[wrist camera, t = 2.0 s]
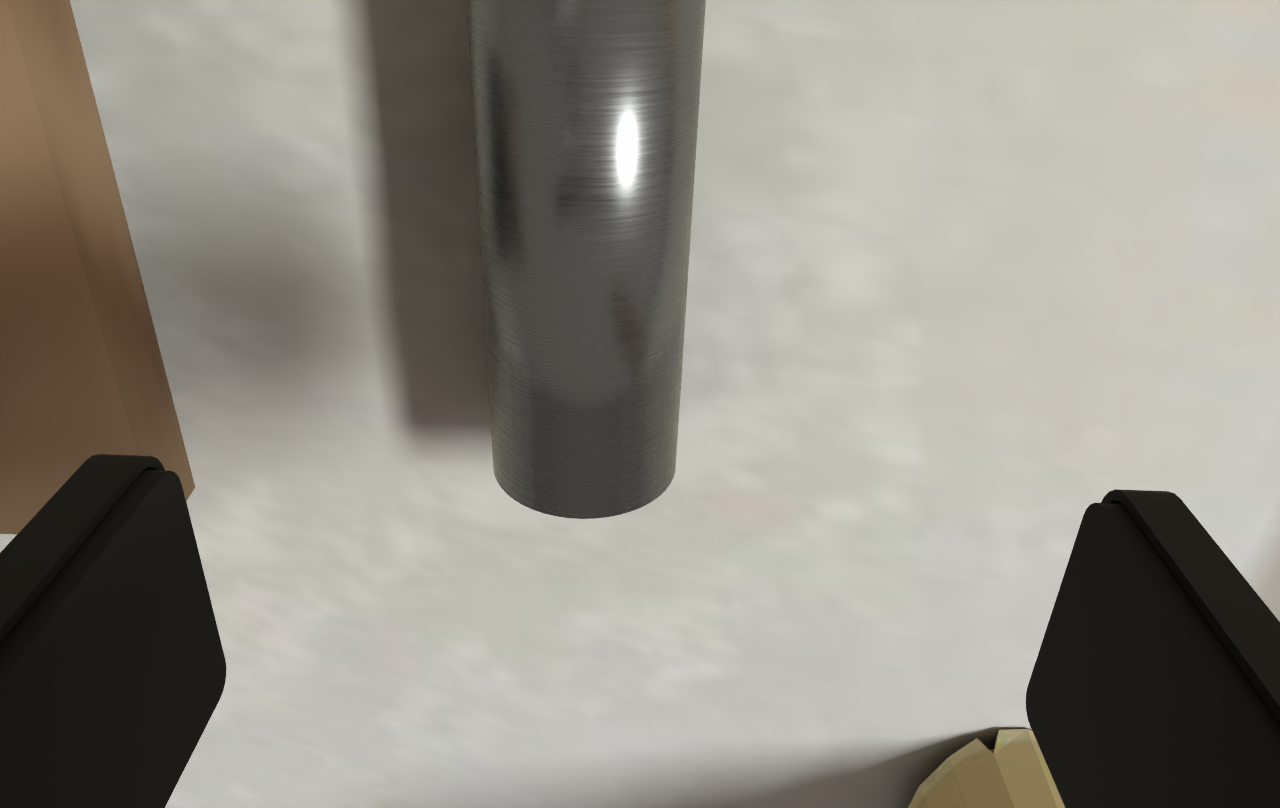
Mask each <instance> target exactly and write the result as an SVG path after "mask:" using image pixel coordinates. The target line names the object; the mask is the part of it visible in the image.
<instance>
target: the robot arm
mask: <svg viewBox="0 0 1280 808" xmlns="http://www.w3.org/2000/svg"><path fill="white" fill-rule="evenodd" d="M225 678H226V662H225V657H224V653H223V649H222V645H221V641H220V637H219V633H218V629H217V625H216V621H215V617H214V613H213V609H212V605H211V600H210V596H209V592H208V588H207V584H206V580H205V576H204V572H203V568H202V564H201V560H200V556H199V552H198V548H197V544H196V540H195V536H194V532H193V528H192V524H191V520H190V516H189V512H188V508H187V503H186V499H185V495H184V491H183V487H182V484H181V481H180V478H179V476H178V475H177V474H176V473H175V472H173V471H165V469H164V467H163V465H162V463H161V462H160V461H159V459H158V458H155V457H153V456H138V455H109V454H98V455H93V456H91V457H90V458H88V459H87V460H86V461H85V462H84V463H83V464H82V465H81V466H80V467H79V468H78V469H77V470H76V471H75V473H74V474H73V475H72V476H71V477H70V478H69V479H68V480H67V481H66V482H65V483H64V484H63V486H62V487H61V488H60V489H59V490H58V491H57V492H56V493H55V494H54V495H53V496H52V497H51V499H50V500H49V501H48V502H47V503H46V504H45V505H44V506H43V507H42V508H41V509H40V510H39V512H38V513H37V514H36V515H35V516H34V517H33V518H32V519H31V520H30V521H29V522H28V523H27V525H26V526H25V527H24V528H23V529H22V530H21V531H20V532H19V533H18V534H17V535H16V536H15V538H14V539H13V540H12V541H11V542H10V543H9V544H8V545H7V546H6V547H5V548H4V549H3V551H2V552H1V553H0V808H165V806H166V804H167V802H168V800H169V798H170V796H171V794H172V792H173V790H174V788H175V786H176V784H177V782H178V780H179V778H180V776H181V774H182V772H183V770H184V768H185V767H186V765H187V763H188V761H189V759H190V757H191V755H192V753H193V751H194V749H195V747H196V745H197V743H198V741H199V739H200V737H201V735H202V733H203V731H204V729H205V727H206V725H207V723H208V721H209V719H210V717H211V715H212V713H213V711H214V709H215V707H216V706H217V704H218V702H219V700H220V697H221V695H222V692H223V689H224V685H225ZM1026 710H1027V716H1028V720H1029V723H1030V726H1031V729H1032V731H1033V733H1034V736H1035V738H1036V740H1037V743H1038V745H1039V747H1040V750H1041V752H1042V754H1043V757H1044V759H1045V762H1046V764H1047V766H1048V769H1049V771H1050V773H1051V776H1052V778H1053V780H1054V783H1055V785H1056V787H1057V790H1058V792H1059V794H1060V797H1061V799H1062V801H1063V804H1064V806H1065V808H1280V622H1279V621H1278V620H1277V618H1276V617H1275V616H1274V615H1273V613H1272V612H1271V611H1270V610H1269V608H1268V607H1267V606H1266V605H1265V603H1264V602H1263V601H1262V600H1261V598H1260V597H1259V596H1258V595H1257V593H1256V592H1255V591H1254V590H1253V588H1252V587H1251V586H1250V585H1249V583H1248V582H1247V581H1246V580H1245V578H1244V577H1243V576H1242V575H1241V573H1240V572H1239V571H1238V570H1237V569H1236V567H1235V566H1234V565H1233V564H1232V562H1231V561H1230V560H1229V559H1228V557H1227V556H1226V555H1225V554H1224V552H1223V551H1222V550H1221V549H1220V547H1219V546H1218V545H1217V544H1216V542H1215V541H1214V540H1213V539H1212V537H1211V536H1210V535H1209V534H1208V532H1207V531H1206V530H1205V529H1204V527H1203V526H1202V525H1201V524H1200V523H1199V521H1198V520H1197V519H1196V518H1195V516H1194V515H1193V514H1192V513H1191V511H1190V510H1189V509H1188V508H1187V506H1186V505H1185V504H1184V503H1183V501H1182V500H1181V499H1180V498H1179V497H1178V496H1177V495H1175V494H1174V493H1171V492H1167V491H1140V490H1113V491H1110V492H1108V494H1107V495H1106V496H1105V497H1104V498H1103V500H1102V502H1101V503H1094V504H1091V505H1090V506H1089V507H1088V508H1087V509H1086V511H1085V514H1084V516H1083V519H1082V522H1081V525H1080V528H1079V531H1078V534H1077V537H1076V540H1075V544H1074V547H1073V550H1072V553H1071V556H1070V559H1069V562H1068V565H1067V568H1066V571H1065V574H1064V577H1063V580H1062V583H1061V586H1060V590H1059V593H1058V596H1057V599H1056V602H1055V605H1054V608H1053V611H1052V614H1051V617H1050V620H1049V623H1048V626H1047V629H1046V632H1045V636H1044V639H1043V642H1042V645H1041V648H1040V651H1039V654H1038V657H1037V660H1036V663H1035V666H1034V669H1033V672H1032V675H1031V679H1030V682H1029V685H1028V688H1027V693H1026Z"/></svg>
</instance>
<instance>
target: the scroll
mask: <svg viewBox="0 0 1280 808" xmlns="http://www.w3.org/2000/svg"><path fill="white" fill-rule="evenodd" d="M908 808H1065V806H1064V804H1063V801H1062V799H1061V797H1060V794H1059V792H1058V790H1057V787H1056V785H1055V783H1054V780H1053V778H1052V776H1051V773H1050V771H1049V769H1048V766H1047V764H1046V762H1045V759H1044V757H1043V754H1042V752H1041V750H1040V747H1039V745H1038V743H1037V740H1036V738H1035V736H1034V733H1033V731H1032V730H1029V729H1010V730H999V731H998V734H997V737H996V742H995V749H992V750H989V749H988V748H987V747H986V746H985V745H984V744H983V743H982V742H981V741H980V740H978V739H977V738H976V739H975V740H973V741H972V742H970V743H969V744H967V745H966V746H964V747H963V748H961V749H960V750H958V751H957V752H955V753H954V754H952V755H951V756H949V757H948V758H947V759H946V760H945V761H944V762H943V763H942V764H941V765H940V766H939V767H938V768H937V769H936V770H935V771H934V772H933V773H932V774H931V775H930V776H929V777H928V778H927V779H926V780H925V781H924V782H923V783H922V784H921V785H920V786H919V788H918V790H917V791H916V793H915V795H914V797H913V799H912V801H911V803H910V804H909V806H908Z"/></svg>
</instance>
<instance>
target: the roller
mask: <svg viewBox="0 0 1280 808" xmlns="http://www.w3.org/2000/svg"><path fill="white" fill-rule="evenodd" d="M705 3H706V0H467V10H468V27H469V45H470V63H471V80H472V98H473V116H474V133H475V151H476V169H477V186H478V204H479V222H480V239H481V257H482V275H483V292H484V310H485V328H486V345H487V363H488V380H489V398H490V416H491V433H492V451H493V468H494V474H495V477H496V479H497V482H498V483H499V485H500V486H501V488H502V489H503V490H504V491H505V492H506V493H507V494H508V495H509V496H510V497H512V498H513V499H514V500H516V501H517V502H519V503H521V504H522V505H524V506H526V507H529V508H531V509H533V510H536V511H539V512H542V513H545V514H549V515H554V516H559V517H566V518H579V519H589V518H603V517H610V516H615V515H620V514H623V513H627V512H630V511H633V510H636V509H638V508H640V507H643V506H645V505H646V504H648V503H650V502H652V501H653V500H655V499H656V498H657V497H659V496H660V495H661V494H662V493H663V492H664V491H665V490H666V489H667V487H668V486H669V485H670V483H671V481H672V479H673V477H674V474H675V468H676V452H677V437H678V421H679V406H680V390H681V375H682V359H683V344H684V328H685V313H686V297H687V282H688V266H689V251H690V235H691V220H692V204H693V189H694V173H695V158H696V142H697V127H698V111H699V96H700V80H701V65H702V49H703V34H704V18H705Z"/></svg>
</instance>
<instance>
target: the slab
mask: <svg viewBox="0 0 1280 808" xmlns="http://www.w3.org/2000/svg"><path fill="white" fill-rule="evenodd" d="M98 454H109V455H138V456H153V457H155V458H158V459H159V461H160V462H161V463H162V465H163V467H164V469H165V471H173V472H175V473H176V474H177V475H178V476H179V478H180V481H181V484H182V487H183V491H184V495H185V499H186V501H187V499H188V497H189V496H190V494H191V493H192V491H193V490H194V488H195V485H194V481H193V477H192V473H191V469H190V466H189V462H188V458H187V454H186V450H185V446H184V442H183V438H182V435H181V431H180V427H179V423H178V419H177V415H176V411H175V407H174V404H173V400H172V396H171V392H170V388H169V384H168V380H167V376H166V373H165V369H164V365H163V361H162V357H161V353H160V349H159V345H158V342H157V338H156V334H155V330H154V326H153V322H152V318H151V314H150V311H149V307H148V303H147V299H146V295H145V291H144V287H143V283H142V279H141V276H140V272H139V268H138V264H137V260H136V256H135V252H134V248H133V245H132V241H131V237H130V233H129V229H128V225H127V221H126V217H125V214H124V210H123V206H122V202H121V198H120V194H119V190H118V186H117V183H116V179H115V175H114V171H113V167H112V163H111V159H110V155H109V152H108V148H107V144H106V140H105V136H104V132H103V128H102V124H101V121H100V117H99V113H98V109H97V105H96V101H95V97H94V93H93V90H92V86H91V82H90V78H89V74H88V70H87V66H86V62H85V59H84V55H83V51H82V47H81V43H80V39H79V35H78V31H77V28H76V24H75V20H74V16H73V12H72V8H71V4H70V0H0V534H18V533H19V532H20V531H21V530H22V529H23V528H24V527H25V526H26V525H27V523H28V522H29V521H30V520H31V519H32V518H33V517H34V516H35V515H36V514H37V513H38V512H39V510H40V509H41V508H42V507H43V506H44V505H45V504H46V503H47V502H48V501H49V500H50V499H51V497H52V496H53V495H54V494H55V493H56V492H57V491H58V490H59V489H60V488H61V487H62V486H63V484H64V483H65V482H66V481H67V480H68V479H69V478H70V477H71V476H72V475H73V474H74V473H75V471H76V470H77V469H78V468H79V467H80V466H81V465H82V464H83V463H84V462H85V461H86V460H87V459H88V458H90V457H91V456H93V455H98Z"/></svg>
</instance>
